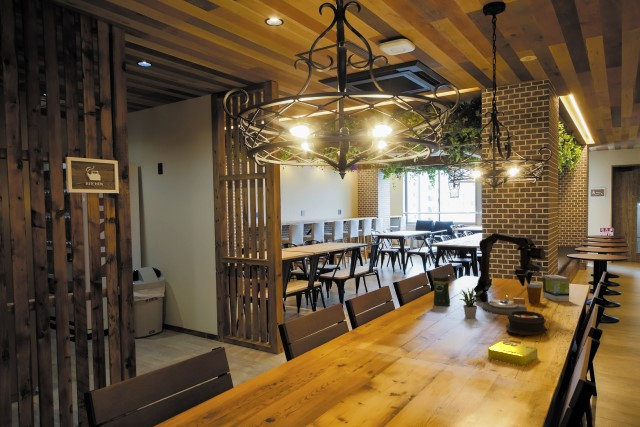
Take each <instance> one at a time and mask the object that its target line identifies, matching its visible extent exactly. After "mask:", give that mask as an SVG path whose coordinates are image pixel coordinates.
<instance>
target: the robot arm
mask: <svg viewBox="0 0 640 427" xmlns="http://www.w3.org/2000/svg"><path fill="white" fill-rule="evenodd" d="M498 241H502V242H507V243H512V244H514V245H516V246H518V247H517V248H516V249H515V250H516V251H519V260H518V262H519V263H520V266H519V267H518V268H516V269H515V270H514V275H515V276H516V277H517V280H519V283H520V286H522V287H525V285H526V284H525V282H526V283H528V284H530V282H532V281H531V280H532V277H533V275H534V274H536V273H540V272H541V270H542V269H543V264H542V263H540V262H537V263H534V261H533V260H542V261H543V260H545V258H546V252H545V249H544V247H537V246H536V244H535V243H534V242H533V239H532V238H531V237H530V236H515V235H514V236H513V235H509V234H505V233H501V232H493V233H491V235H489V236H488V237H485V238H484V239H481V240H480V241H479V243H478V246H479V250H480V252H481V257H480V258H481V259H480V260H481V263H480V275H479V278H478V280H477V283H476V286H474V287H473V290H474V291H473V292H474V293H475V295H476V294H477V293H478V292H480V291H482V292H483V293H479V294H480V295H479V294H478V295H477V296H476V298H475V299H477V298H478V300H479V302H480V303H487V302H488V301H489V294H488V292H489V290H490V288H491V287H492V286H493V282H492V281H493V279H492V278H490V262H491V261H490V259H491V258H490V256H491V252H492V251H493V249H494V248H493V247H494V244H496V243H497V242H498ZM532 259H533V260H532ZM486 301H487V302H486ZM479 302H478V303H479Z"/></svg>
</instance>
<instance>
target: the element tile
mask: <svg viewBox="0 0 640 427" xmlns="http://www.w3.org/2000/svg"><path fill="white" fill-rule="evenodd" d="M487 358H488V359H489V358H490V359H489V360H491V359H493V360H492V361H496V360H498V361H497V362H500V361H501V363H504V362H506V363H505V364H508V363H510V364H509V365H513V364H514V365H513V366H517V365H518V367H522V366H525V367H528V366H529V365H531V364H532V363H534V362H535V361H536V360H538V348H537V346H533V345H527V344H522V343H517V342H512V341H508V340H500V341H499V342H496V343H495V344H493V345H490V346H489V347H487ZM534 360H535V361H534ZM530 363H531V364H530ZM527 365H528V366H527Z"/></svg>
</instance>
